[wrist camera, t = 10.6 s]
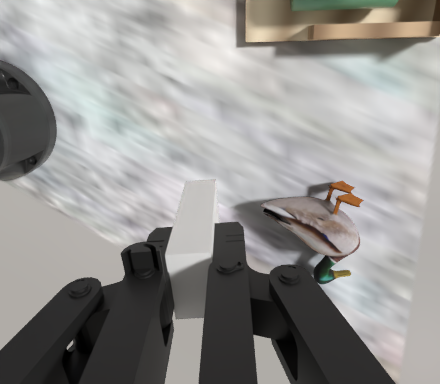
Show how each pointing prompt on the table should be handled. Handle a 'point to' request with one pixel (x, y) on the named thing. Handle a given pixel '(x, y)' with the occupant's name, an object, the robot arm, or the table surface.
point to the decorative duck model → (320, 227)
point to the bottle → (339, 4)
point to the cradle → (340, 22)
